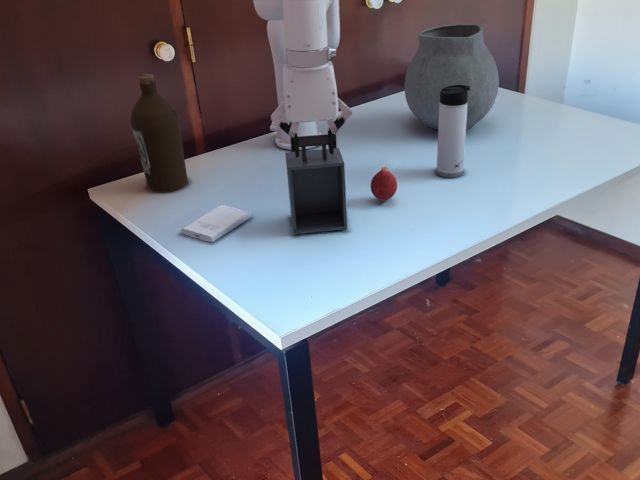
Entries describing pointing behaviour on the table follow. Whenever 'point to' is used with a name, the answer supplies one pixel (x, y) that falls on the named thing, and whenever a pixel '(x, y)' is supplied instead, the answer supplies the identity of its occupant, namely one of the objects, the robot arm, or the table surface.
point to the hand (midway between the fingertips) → (314, 152)
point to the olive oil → (158, 139)
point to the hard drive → (216, 223)
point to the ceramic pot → (451, 72)
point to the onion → (383, 185)
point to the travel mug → (452, 130)
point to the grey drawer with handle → (316, 187)
